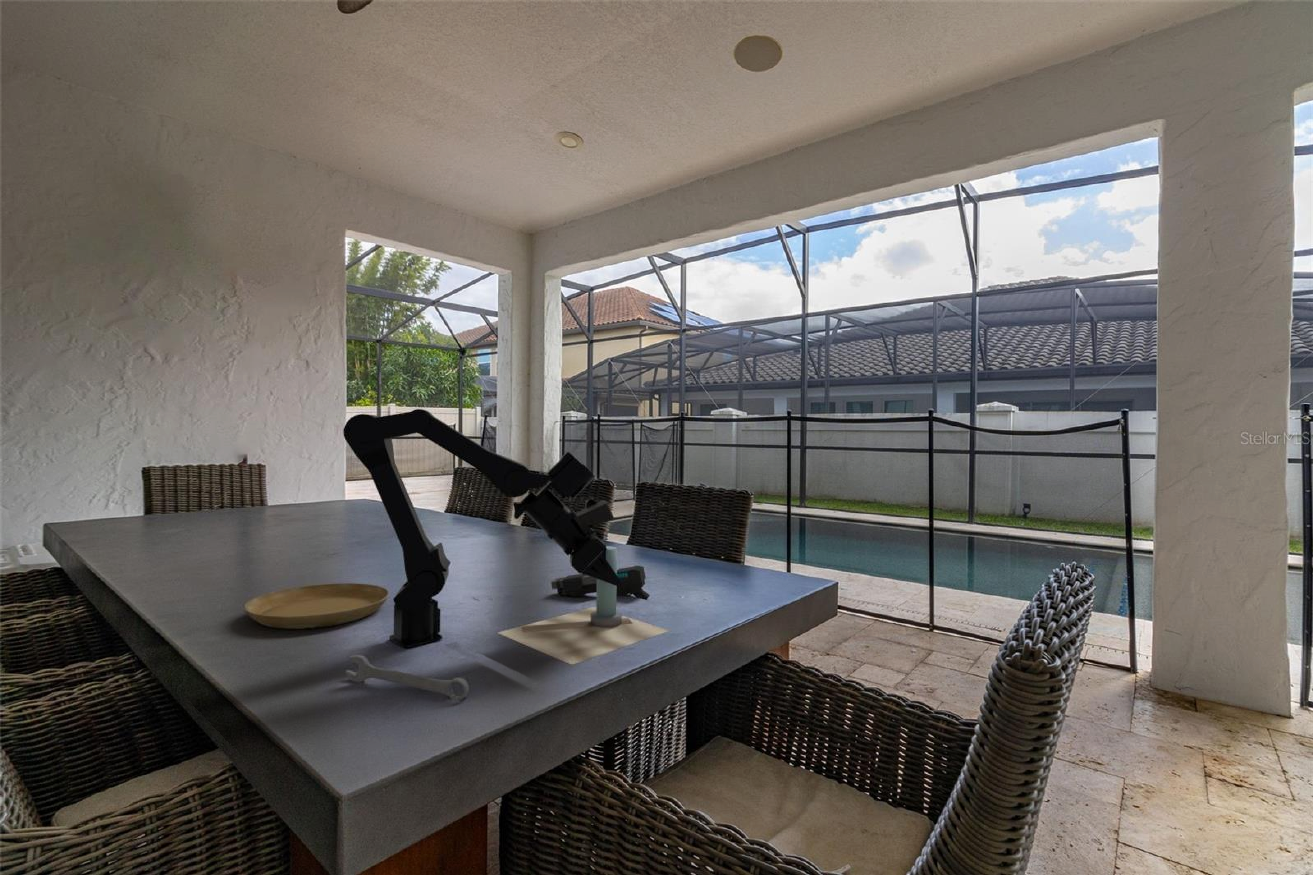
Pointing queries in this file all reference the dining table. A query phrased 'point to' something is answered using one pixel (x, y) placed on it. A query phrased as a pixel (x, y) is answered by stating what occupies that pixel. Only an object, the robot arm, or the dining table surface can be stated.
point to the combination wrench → (404, 678)
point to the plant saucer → (316, 605)
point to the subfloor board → (580, 636)
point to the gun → (586, 584)
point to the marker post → (607, 597)
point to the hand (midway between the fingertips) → (614, 577)
